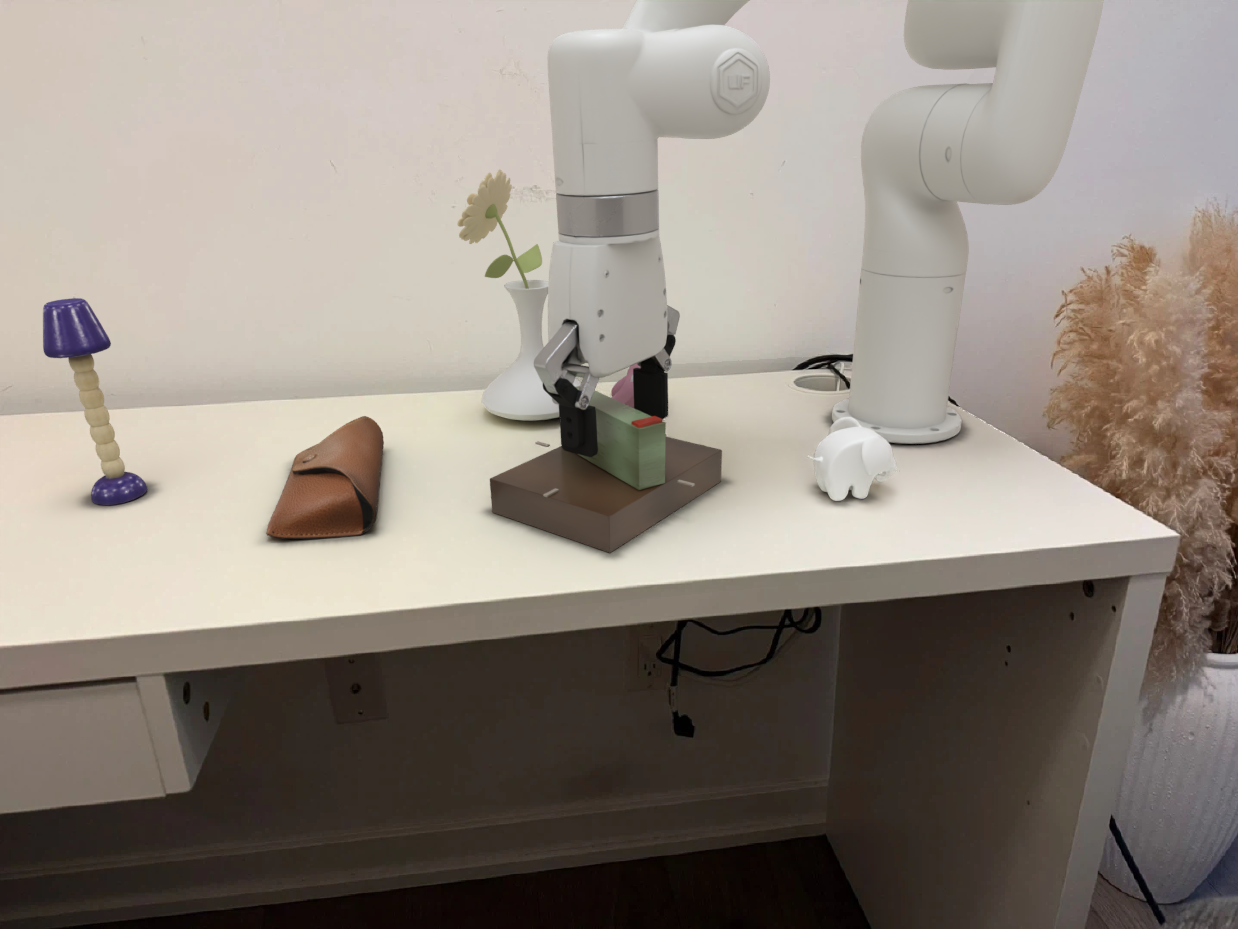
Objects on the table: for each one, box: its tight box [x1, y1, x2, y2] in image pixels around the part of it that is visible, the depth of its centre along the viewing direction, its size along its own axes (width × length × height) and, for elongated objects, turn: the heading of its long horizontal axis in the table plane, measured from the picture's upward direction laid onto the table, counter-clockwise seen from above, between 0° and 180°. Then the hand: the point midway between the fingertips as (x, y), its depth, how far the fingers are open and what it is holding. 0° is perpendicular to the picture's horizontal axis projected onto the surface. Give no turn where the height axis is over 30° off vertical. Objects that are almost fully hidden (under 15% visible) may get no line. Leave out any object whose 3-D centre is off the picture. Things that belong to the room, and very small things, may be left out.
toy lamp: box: [42, 297, 148, 506], centre depth 70 cm, size 5×5×17 cm
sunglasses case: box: [265, 415, 385, 540], centre depth 72 cm, size 18×7×7 cm
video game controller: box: [610, 364, 641, 408], centre depth 90 cm, size 10×5×7 cm, turn 168°
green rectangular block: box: [559, 386, 667, 490], centre depth 69 cm, size 12×2×5 cm, turn 33°
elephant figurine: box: [806, 417, 900, 502], centre depth 70 cm, size 7×8×6 cm
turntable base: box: [489, 435, 723, 554], centre depth 71 cm, size 16×16×3 cm
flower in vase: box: [457, 169, 581, 422], centre depth 87 cm, size 13×11×25 cm
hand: (617, 433), depth 70 cm, fingers open, 9 cm apart
